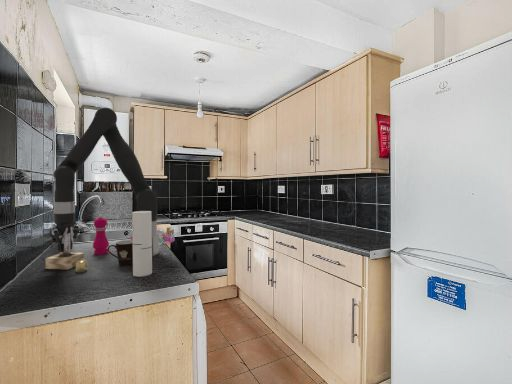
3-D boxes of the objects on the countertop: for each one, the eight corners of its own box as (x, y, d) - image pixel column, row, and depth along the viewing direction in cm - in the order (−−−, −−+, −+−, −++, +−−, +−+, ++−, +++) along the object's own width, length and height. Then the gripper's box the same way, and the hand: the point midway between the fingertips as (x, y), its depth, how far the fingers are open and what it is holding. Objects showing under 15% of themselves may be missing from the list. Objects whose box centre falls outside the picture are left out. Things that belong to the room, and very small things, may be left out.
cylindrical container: (136, 270, 114) (135, 211, 113) (154, 270, 114) (153, 210, 113) (130, 276, 106) (129, 213, 106) (149, 276, 107) (148, 212, 106)
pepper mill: (101, 255, 137) (101, 215, 136) (89, 254, 139) (88, 215, 138) (112, 251, 144) (111, 214, 143) (100, 251, 146) (99, 213, 145)
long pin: (72, 259, 122) (72, 232, 122) (66, 261, 118) (65, 234, 118) (64, 258, 123) (64, 232, 122) (57, 261, 119) (56, 233, 118)
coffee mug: (141, 262, 126) (141, 240, 125) (126, 267, 118) (126, 244, 117) (121, 259, 130) (121, 239, 129) (106, 265, 121) (105, 242, 121)
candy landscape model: (144, 238, 181) (144, 224, 180) (179, 238, 180) (179, 224, 179) (124, 247, 156) (124, 231, 155) (165, 247, 155) (165, 231, 155)
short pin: (89, 269, 115) (89, 260, 115) (82, 272, 111) (82, 262, 111) (80, 269, 116) (80, 259, 116) (73, 272, 112) (73, 262, 112)
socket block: (84, 262, 125) (84, 252, 125) (67, 269, 115) (67, 258, 115) (64, 261, 126) (63, 252, 126) (45, 268, 116) (45, 258, 116)
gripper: (59, 214, 112) (60, 255, 113) (84, 210, 127) (84, 247, 127) (42, 213, 113) (43, 254, 114) (69, 210, 127) (69, 246, 128)
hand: (65, 250), depth 120 cm, fingers closed on long pin, 4 cm apart
